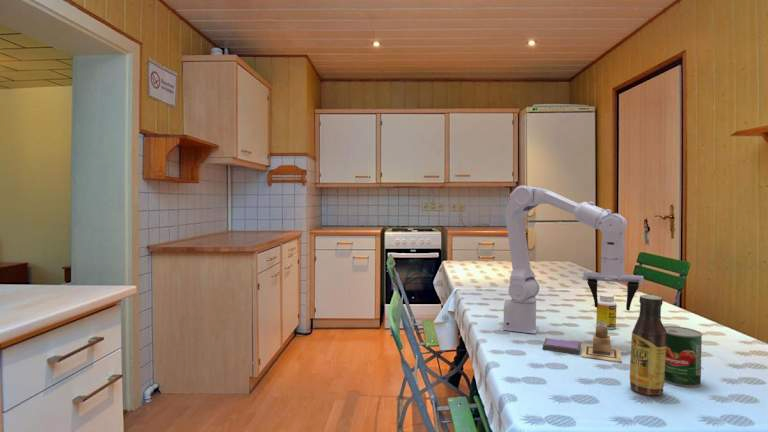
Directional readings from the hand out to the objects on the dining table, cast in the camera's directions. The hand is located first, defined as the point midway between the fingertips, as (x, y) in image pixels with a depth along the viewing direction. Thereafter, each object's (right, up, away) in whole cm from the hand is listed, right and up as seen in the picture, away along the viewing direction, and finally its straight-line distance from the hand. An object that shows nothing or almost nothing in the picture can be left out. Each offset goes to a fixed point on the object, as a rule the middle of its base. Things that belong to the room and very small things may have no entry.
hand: (611, 308), depth 123 cm
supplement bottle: (+8, -10, +19) cm, 23 cm away
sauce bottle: (-7, -12, -29) cm, 32 cm away
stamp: (-6, -10, -6) cm, 13 cm away
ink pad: (-14, -10, -2) cm, 18 cm away
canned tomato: (+3, -11, -23) cm, 26 cm away
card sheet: (-6, -11, -6) cm, 13 cm away
